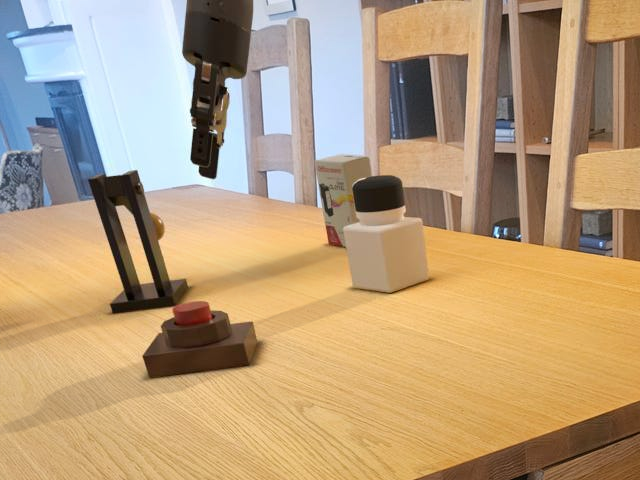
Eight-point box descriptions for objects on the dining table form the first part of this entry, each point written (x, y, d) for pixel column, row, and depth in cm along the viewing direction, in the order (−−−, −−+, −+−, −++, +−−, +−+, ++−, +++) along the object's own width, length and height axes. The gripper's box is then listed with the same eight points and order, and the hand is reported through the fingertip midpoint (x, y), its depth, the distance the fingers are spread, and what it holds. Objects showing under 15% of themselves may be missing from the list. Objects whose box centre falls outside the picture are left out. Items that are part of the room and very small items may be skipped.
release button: (174, 330, 82) (168, 312, 81) (180, 321, 85) (175, 303, 84) (210, 326, 82) (205, 308, 81) (215, 316, 85) (211, 299, 84)
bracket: (130, 294, 114) (91, 173, 106) (188, 287, 115) (153, 165, 106) (112, 313, 106) (68, 183, 98) (175, 305, 107) (136, 175, 98)
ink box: (327, 244, 131) (311, 159, 124) (353, 238, 133) (339, 154, 126) (356, 249, 125) (341, 160, 118) (383, 243, 128) (370, 155, 121)
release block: (149, 377, 82) (135, 337, 80) (164, 353, 89) (152, 315, 87) (249, 365, 83) (238, 324, 80) (257, 342, 89) (248, 303, 87)
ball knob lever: (144, 246, 117) (140, 220, 116) (170, 243, 117) (165, 217, 116) (101, 203, 102) (96, 172, 101) (131, 199, 102) (125, 168, 101)
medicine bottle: (430, 279, 105) (418, 172, 98) (389, 293, 101) (373, 183, 94) (392, 274, 109) (377, 171, 102) (351, 288, 105) (333, 181, 98)
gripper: (193, 33, 105) (180, 173, 110) (177, -11, 92) (163, 151, 96) (254, 51, 107) (238, 189, 111) (247, 12, 94) (229, 169, 98)
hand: (203, 171), depth 104 cm, fingers open, 8 cm apart
